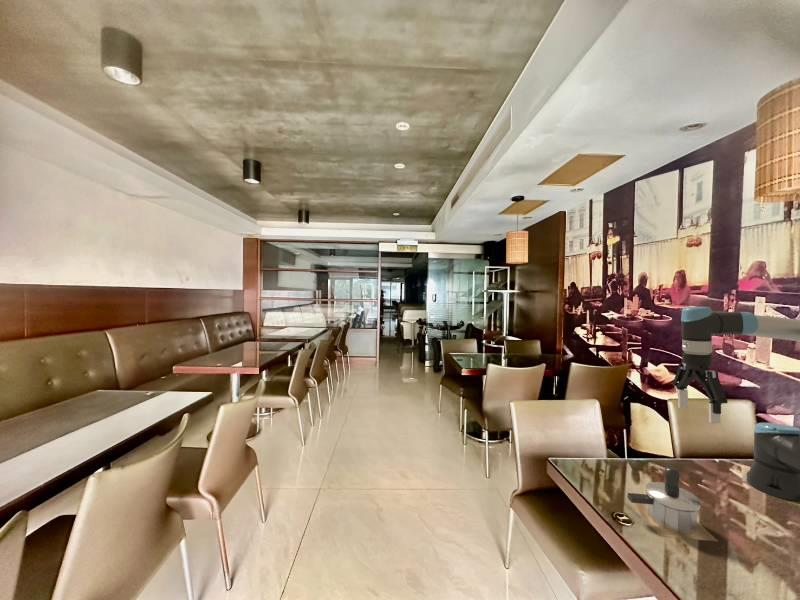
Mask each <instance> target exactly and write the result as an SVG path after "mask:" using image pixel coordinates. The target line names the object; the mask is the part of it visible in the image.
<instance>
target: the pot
mask: <svg viewBox="0 0 800 600" xmlns="http://www.w3.org/2000/svg"><path fill="white" fill-rule="evenodd" d="M627 499H628V501H629V502H631V504H632V503H641V504H648V516H649V517H650V519H651V520H652V521H653V522H654V523H656V524H658V525H659V526H661V527H663V528H664V529H667V530H670V531H673V532H675V533H679V534H688V535H691V534H693V533H695V532H697V522H698V511H696V512H682V511H678V510H674V509H671V508H668V507H665V506H663V505H661V504H659V503H657V502H655V501H654V500H652V499H651V498H650V497H649V496H648V495H647V494H643V493H632V492H627Z"/></svg>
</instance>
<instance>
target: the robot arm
mask: <svg viewBox="0 0 800 600" xmlns="http://www.w3.org/2000/svg"><path fill="white" fill-rule="evenodd" d="M680 321H681V340H682V341H681V342H682V344H681V346H682V347H681V349H682V351H683V352H682V353H681V356H682V358H681V359H682V362H678V367H677V370H676V374H675V376H674V377H673V381H672V386H674V387H675V388H676V389H677V401H678V402H677V404H678V405H677V406H678V409H689V391H688V386H690V384H691V383H692V382H693V380H694V381H697V382H698V383H699V384H700V385H701V386H702V388H703V390H704V391H705V393H706V395H707V397H708V398H709V402H708V423H710V424H721V413H722V404H728V403H729V401H728V398H727V396H726V394H725V392H724V388H723V385H722V384H721V381H720V377H719V372H718V371H717V370H710V367H711V366H712V365H713V355H712V354H711V353H712V352H713V338H712V337H713V336H718V335H719V336H720V335H723V336H724V335H726V336H727V335H728V336H729V335H730V336H738V335H739V336H751V337H759V338H760V337H761V338H767V339H769V338H770V339H776V340H777V339H778V340H786V341H793V342H794V341H795V342H799V343H800V319H798V318H797V319H796V318H786V317H777V316H767V315H759V314H758V315H757V314H754V313H752V312H751V311H750V312H749V311H723V310H722V311H721V310H712V309H711V307H709V306H686V307H683V308H682V310H681V318H680ZM753 433H754V435H753V437H754V438H753V441H754V442H753V446H754V447H753V462H752V465H751V466H750V468H749V470H748V471H747V473H746V482H747V484H749V485H751V487H753V488H755V489H757V490H758V491H760V492H762V493H765V494H768V495H770V496H774V497H777V498H780V499H783V500H788V501H794V502H800V427H796V426H792V425H787V424H781V423H774V422H758V423H756V424H755V426H754V429H753Z"/></svg>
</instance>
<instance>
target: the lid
mask: <svg viewBox="0 0 800 600" xmlns="http://www.w3.org/2000/svg"><path fill="white" fill-rule="evenodd" d="M664 474H665V475H664V482H663V481H662V482H661V481H652V482H651V481H650V482H647V483H646V484H645V493H646V494H647V495H648V496H649V497H650V498H651V499H652V500H654V501H655V502H657V503H659V504H661V505H663V506H665V507H668V508H671V509H674V510H678V511H682V512H696V511H697V512H698V511H699V510H701V501H700V499H699V498H698V497H697V496H696V495H695V494H694V493H693V492H691V491H688V490H687V489H685V488H682V487H680V474H681V473H680V470H679V469H678V468H676V467H673V466H668V465H667V466H665V467H664Z"/></svg>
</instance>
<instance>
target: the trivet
mask: <svg viewBox="0 0 800 600" xmlns="http://www.w3.org/2000/svg"><path fill="white" fill-rule="evenodd" d="M631 504H632V505H633V506H634V507H635V509H636V510H637V511H638V512H639V514H640V515H641V516H642V517H643V518H644V519H645V521H646V522H647V523H648V524H649V525H650V527H651V528H652V529H653V530H654V531H655V532H656V534H658V536H659V537H667V538H668V537H669V538H680V539H689V540H699V541H700V540H701V541H709V542H718V539H717V538H716V537H714V536H713V535H712V534H711V533H710V532H709V531H708V530H707V529H706V528H705V527H703V526H702V525H701V524H700V523H699V522H698V521H697V532H695V533H693V534H691V535H688V534H679V533H675V532H673V531H670V530H667V529H664V528H663V527H661V526H659V525H658V524H656V523H654V522H653V521H652V520H651V519H650V517H649V516H648V504H641V503H632V502H631Z"/></svg>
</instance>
